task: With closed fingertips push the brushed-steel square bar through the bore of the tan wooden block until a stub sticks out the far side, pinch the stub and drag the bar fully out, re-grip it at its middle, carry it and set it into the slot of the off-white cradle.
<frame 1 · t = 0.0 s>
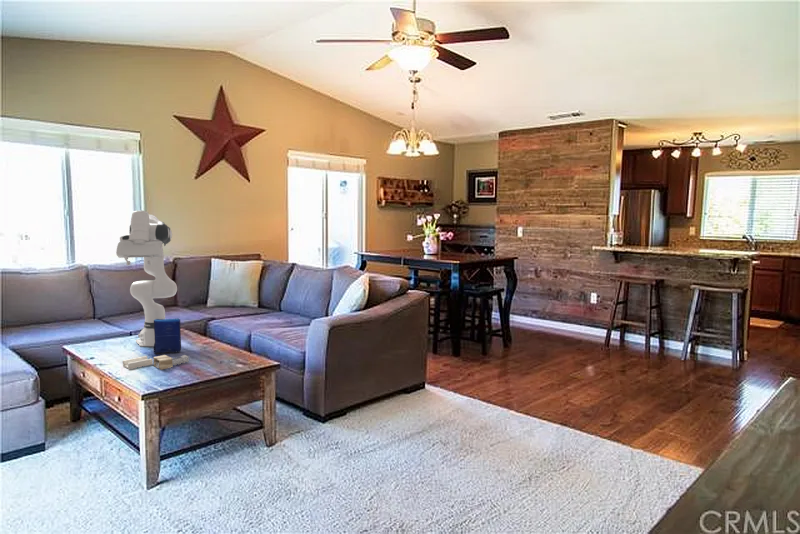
hand: (138, 264, 260), 54 cm above the table, tool tilted 30°, fingers open, 8 cm apart
tan wooden block: (163, 366, 274), on the table
bar: (172, 365, 277), on the table
cradle: (137, 365, 276), on the table
book: (167, 353, 299), on the table
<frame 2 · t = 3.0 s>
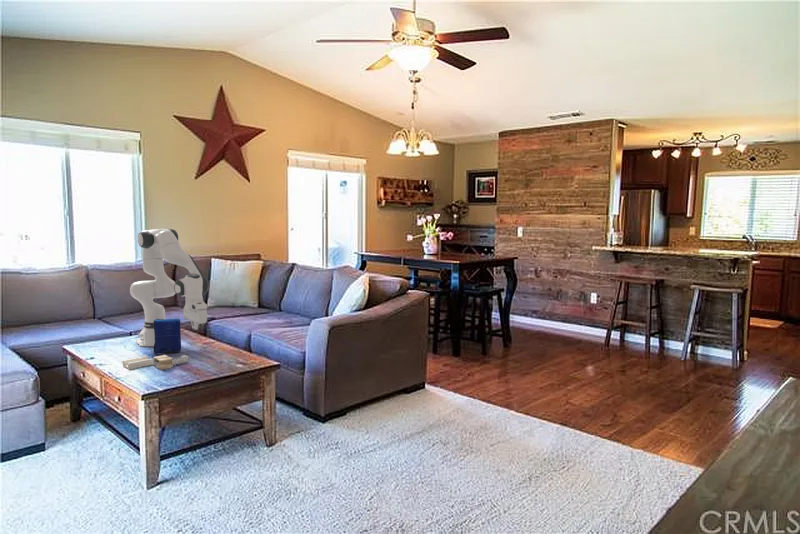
hand: (195, 329, 285), 17 cm above the table, tool pointing down, fingers closed
nothing on the table moved.
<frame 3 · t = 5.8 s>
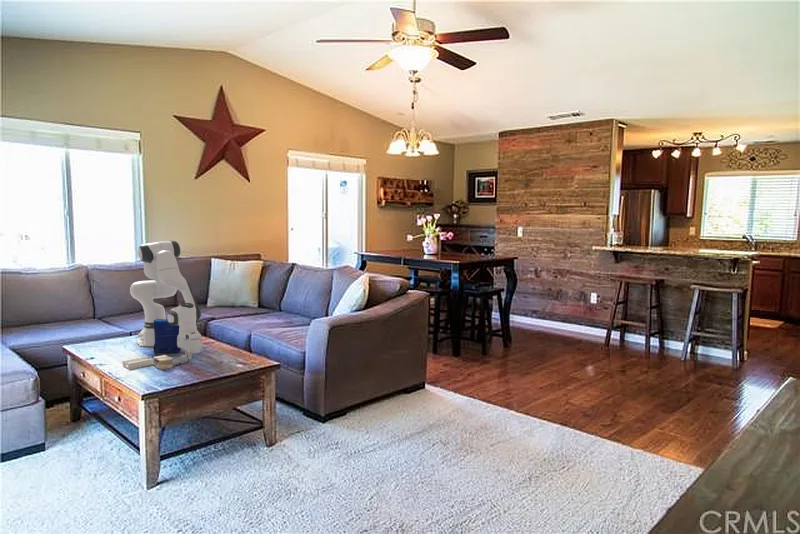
hand: (188, 358, 284), 2 cm above the table, tool pointing down, fingers closed
bar: (172, 365, 278), on the table, touching gripper
everything else where it was.
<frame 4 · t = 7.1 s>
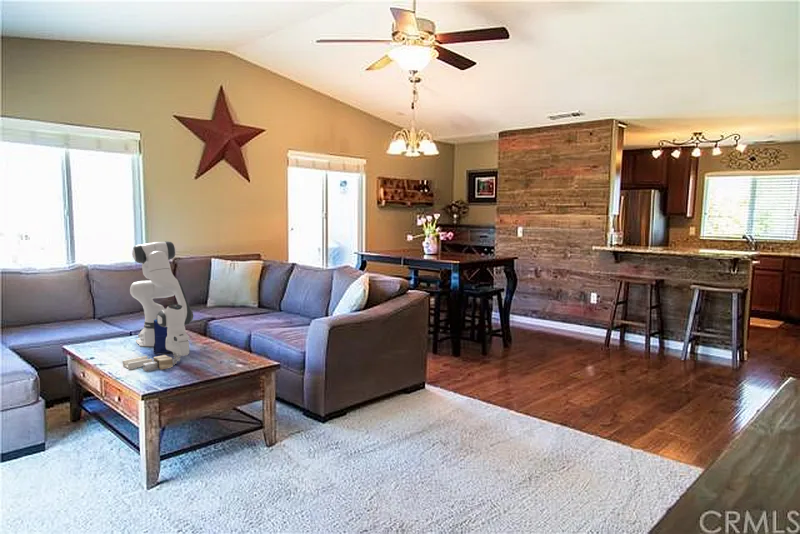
hand: (177, 360, 279), 2 cm above the table, tool pointing down, fingers closed
bar: (160, 367, 273), on the table
everything else where it was.
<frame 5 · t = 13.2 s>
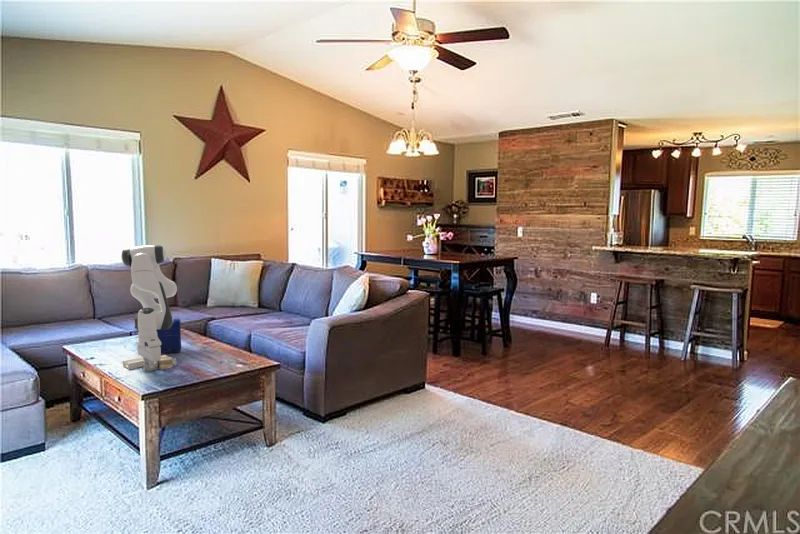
hand: (149, 366, 268), 2 cm above the table, tool pointing down, fingers closed on bar, 3 cm apart
bar: (159, 367, 272), on the table, touching gripper
everything else where it was.
when the fingers open (2 cm above the table, at t = 17.2 s): bar stays where it is, on the table.
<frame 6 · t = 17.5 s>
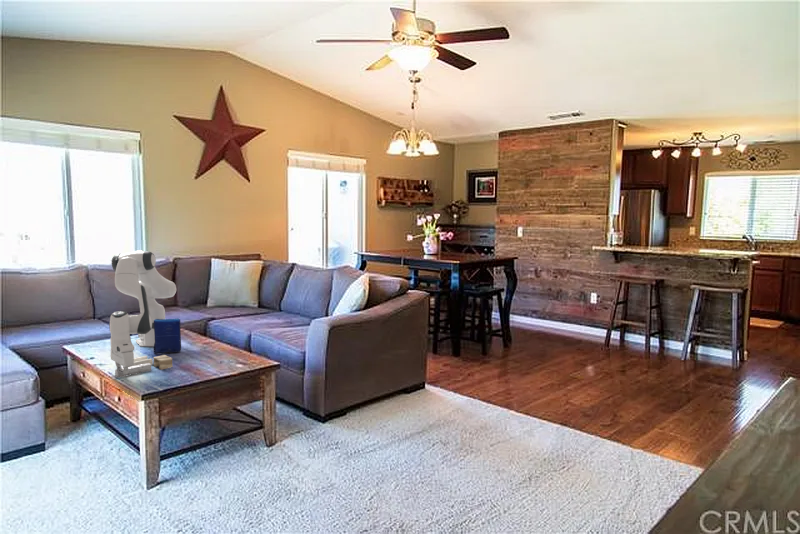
hand: (122, 372, 259), 2 cm above the table, tool pointing down, fingers open, 6 cm apart
bar: (133, 373, 263), on the table
everything else where it was.
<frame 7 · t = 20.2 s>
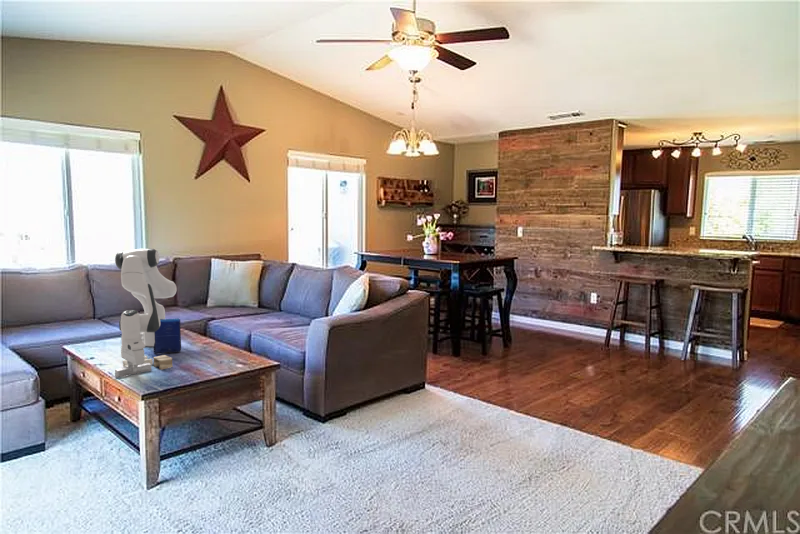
hand: (132, 370, 262), 2 cm above the table, tool pointing down, fingers closed on bar, 3 cm apart
bar: (133, 373, 263), on the table, touching gripper
everything else where it was.
when the fingers open (5 cm above the table, at t = 24.5 s): bar drops 2 cm, resting on cradle.
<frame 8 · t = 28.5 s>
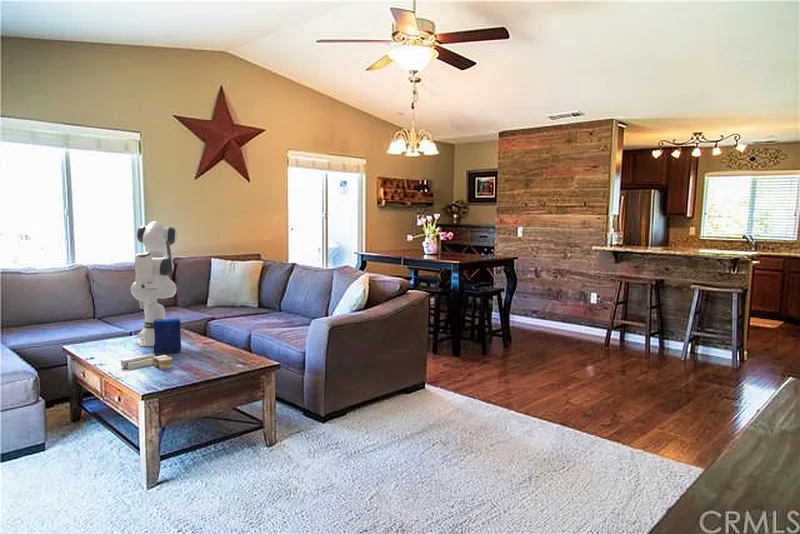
hand: (146, 309, 275), 29 cm above the table, tool pointing down, fingers open, 8 cm apart
bar: (138, 363, 276), point 1 cm above the table, touching cradle
everything else where it was.
at the end: bar inside the target area on the cradle (0.4 cm from its centre), point 0.8 cm above the cradle's base; the gripper is holding nothing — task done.
